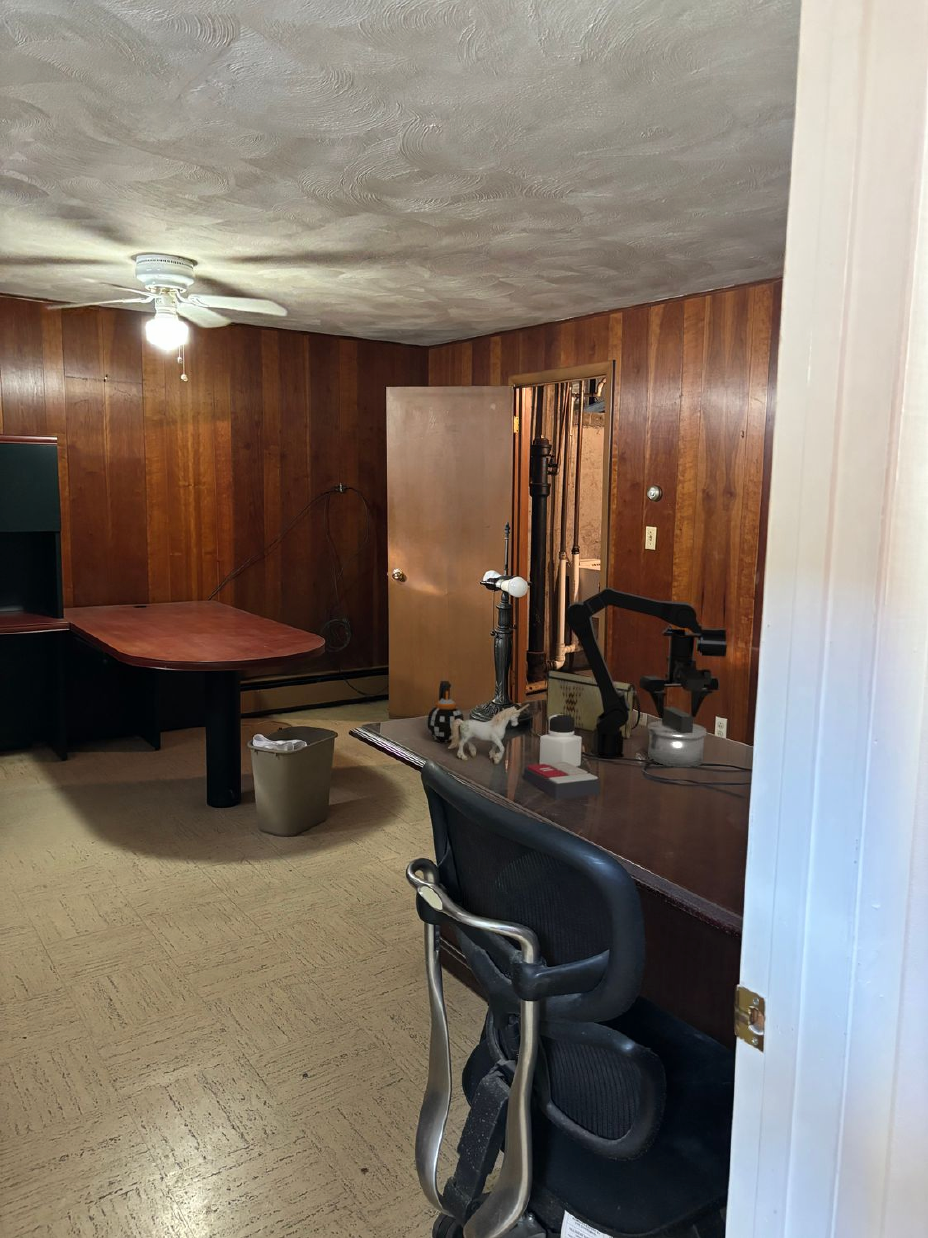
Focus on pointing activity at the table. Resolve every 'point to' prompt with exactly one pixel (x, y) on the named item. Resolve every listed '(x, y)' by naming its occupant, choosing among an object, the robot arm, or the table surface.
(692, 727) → the lid
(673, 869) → the table surface
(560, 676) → the clutch purse
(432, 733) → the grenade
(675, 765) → the grey cylinder drum
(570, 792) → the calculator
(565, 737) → the medicine bottle
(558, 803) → the table surface
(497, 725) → the unicorn figurine
